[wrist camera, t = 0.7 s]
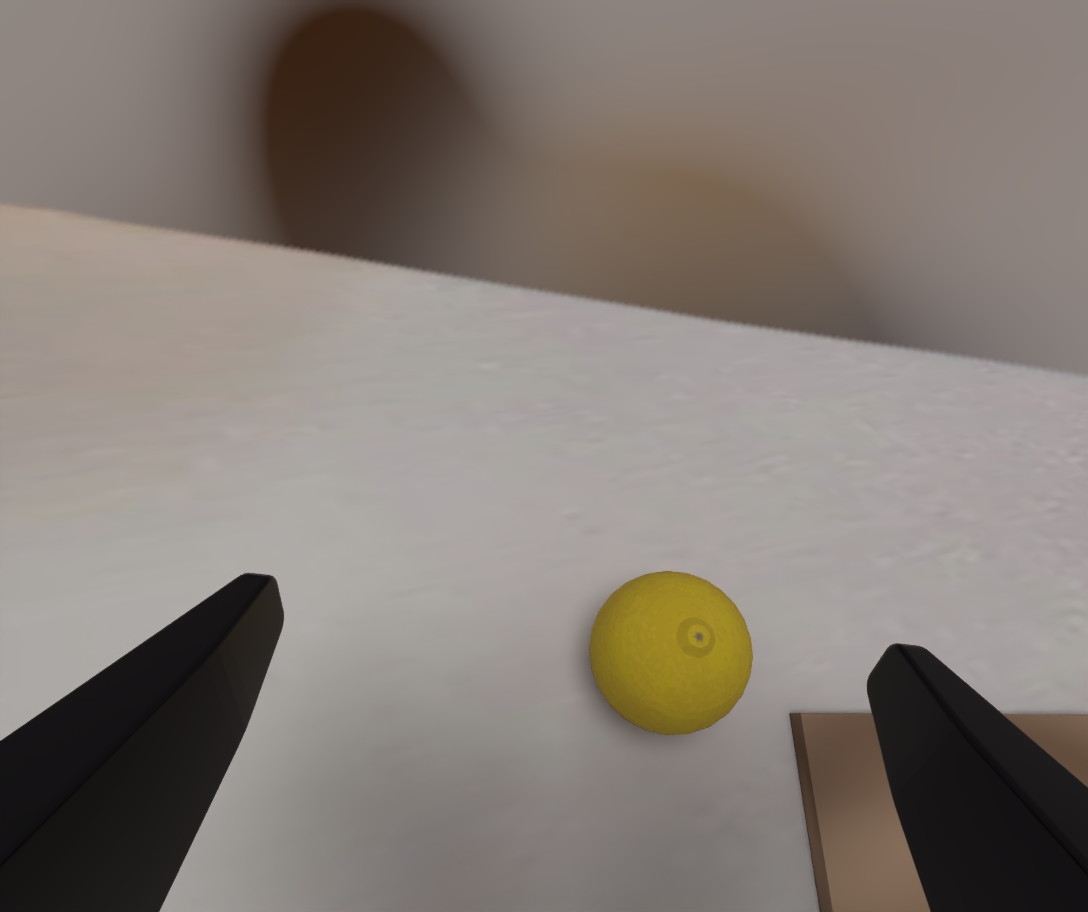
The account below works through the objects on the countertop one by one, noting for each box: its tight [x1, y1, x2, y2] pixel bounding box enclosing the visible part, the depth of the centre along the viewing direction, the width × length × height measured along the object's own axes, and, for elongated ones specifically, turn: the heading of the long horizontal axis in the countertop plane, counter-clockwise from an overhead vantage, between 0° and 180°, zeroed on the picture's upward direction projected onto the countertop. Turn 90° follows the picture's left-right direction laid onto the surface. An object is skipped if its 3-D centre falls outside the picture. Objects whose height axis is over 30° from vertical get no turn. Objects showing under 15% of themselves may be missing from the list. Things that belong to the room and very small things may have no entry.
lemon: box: [589, 571, 753, 735], centre depth 21 cm, size 6×6×8 cm
